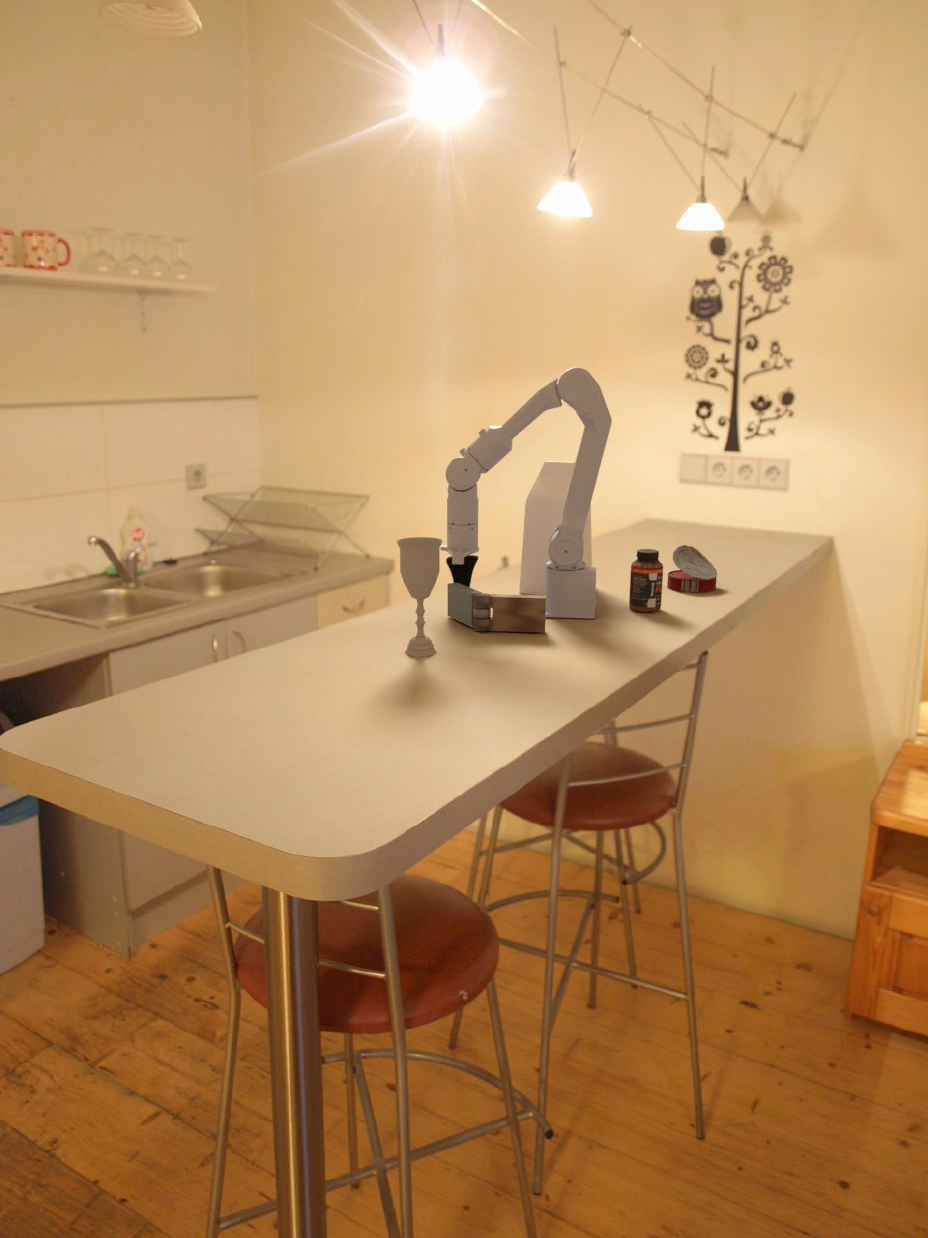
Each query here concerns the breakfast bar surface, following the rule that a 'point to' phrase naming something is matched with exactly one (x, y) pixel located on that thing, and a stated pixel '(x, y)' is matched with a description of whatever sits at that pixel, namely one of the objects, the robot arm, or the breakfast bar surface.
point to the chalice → (420, 583)
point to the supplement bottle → (646, 582)
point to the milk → (546, 524)
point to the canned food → (691, 572)
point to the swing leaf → (464, 604)
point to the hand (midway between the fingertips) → (462, 595)
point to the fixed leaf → (511, 612)
